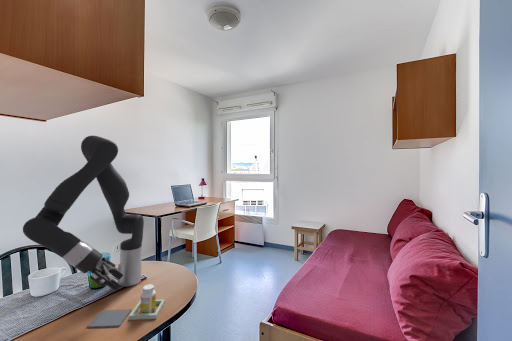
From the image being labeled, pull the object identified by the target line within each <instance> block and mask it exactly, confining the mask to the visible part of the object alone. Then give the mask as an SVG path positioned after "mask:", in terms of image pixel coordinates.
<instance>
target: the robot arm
mask: <svg viewBox="0 0 512 341" xmlns="http://www.w3.org/2000/svg"><path fill="white" fill-rule="evenodd" d="M80 144H81V145H80V151H81V153H82V155H83V157H84V158H85V160H86V161H87V162H86V163H85V164H84V165H83V167H82V168H80V169H79V170H78V171H76V172H75V173H73V174H72V175H70V176H69V177H67V178H65V179H64V180H63V181H61V183H58V185H57V186H56V187H55V189H54V190H53V191H52V192H51V194H50V195H49V196H48V197H47V199H46V200H45V201H44V205H43V207H42V208H41V210H40V211H39V212H38V213H37V214H36V216H35V217H33V218H31V219H28V220H27V221H26V222H25V223H24V225H23V226H22V233H23V234H24V236H26V238H27V239H29V240H31V241H32V242H33V243H36V244H38V245H40V246H42V247H45V248H46V249H49V250H51V251H52V252H53V253H54V254H56V255H57V256H59V257H60V258H62V259H63V260H64V261H65V262H66V263H67V264H70V265H71V266H72V267H73V268H74V269H76V270H78V271H80V273H82V274H87V273H88V272H91V275H90V276H89V279H90V280H91V281H93V282H94V283H95V284H97V285H99V287H100V286H101V287H102V288H105V287H109V288H110V289H111V290H113V291H117V290H118V289H119V288H120V287H133V286H136V285H137V284H138V285H139V283H140V282H142V281H141V280H142V255H143V254H142V253H143V252H142V251H143V250H142V249H143V248H142V245H143V238H144V236H143V235H144V226H145V221H144V216H143V215H141V214H128V213H126V211H125V207H126V205H127V202H128V201H129V198H130V191H129V189H128V185H127V182H126V181H125V180H124V178H123V176H122V175H121V174H120V172H118V170H116V168H115V167H114V165H113V164H112V162H113V161H114V160H115V159H116V158H117V156H118V153H119V147H118V145H117V143H116V142H114V141H113V140H110V139H107V138H105V137H102V136H98V135H88V136H86V137H84V138H83V139H82V141H81V143H80ZM95 179H96V180H97V182H98V185H99V187H100V189H101V192H102V194H103V197H104V198H105V201H106V203H107V204H108V207H109V209H110V212H111V216H112V219H113V223H114V225H115V228H116V230H117V232H118V233H119V234H122V235H123V234H125V235H128V234H129V235H131V238H127V239H125V240H123V241H121V242H120V246H119V247H120V249H119V250H120V251H119V252H120V253H119V264H118V265H117V267H116V264H115V263H113V262H112V261H110V260H109V259H108V258H106V257H104V256H103V253H100V252H99V251H98V250H97V249H95V248H94V247H92V246H91V245H90V244H88V243H87V242H85V241H83V240H81V239H80V238H79V237H77V236H76V235H74V234H73V233H72V232H69V231H66V230H63V228H60V227H59V224H60V223H61V221H62V220H63V218H64V216H65V215H66V214H67V212H68V211H69V210H70V208H71V207H72V206H73V205H74V203H75V202H76V201H77V199H78V198H79V196H80V195H82V193H83V192H84V191H85V189H86V188H87V187H88V186H89V185H90V184H91V183H92V182H93V181H94V180H95ZM112 276H113V277H114V278H115V279H116V280H117V281H116V280H114V278H113V279H112Z"/></svg>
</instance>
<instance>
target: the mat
mask: <svg viewBox="0 0 512 341" xmlns="http://www.w3.org/2000/svg"><path fill="white" fill-rule="evenodd" d="M131 312H132V308H129V309H127V308H126V309H102V310H101V311H100V312H99V313H97V315H96V316H95V317H94V318H93V319H92V320H91V321H90V322H89V324H87V326H86V328H87V329H88V328H89V329H90V328H91V329H92V328H115V327H117V328H120V327H121V325H122V324H123V322H125V320H126V318H128V317H129V315H130V313H131Z"/></svg>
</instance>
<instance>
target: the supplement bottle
mask: <svg viewBox="0 0 512 341" xmlns="http://www.w3.org/2000/svg"><path fill="white" fill-rule="evenodd" d="M156 295H157V292H156V290H155V286H154V284H149V283H148V284H146V285H144V286H143V287H142V292H141V294H140V300H141V306H140V308H139V310H140V313H139V314H148V313H154V311H156V305H155V300H157V299H156Z"/></svg>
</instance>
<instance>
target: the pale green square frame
mask: <svg viewBox="0 0 512 341" xmlns="http://www.w3.org/2000/svg"><path fill="white" fill-rule="evenodd" d="M165 304H166V299H165V298H164V299H163V298H162V299H155V306H156V305H158V307H157V308H156V309H155V312H152V313H148V314H141V313H137V312H138V311H139V310H140V306H141V299H140V300H139V301H138V302H137V304H136V305H135V306H134V308H133V309H132V310H131V312H130V313H129V314H128V320H129V321H131V320H132V321H134V320H135V321H136V320H157V319H158V317H159V315H160V313H161V311H162V310H163V308H164V306H165Z"/></svg>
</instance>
